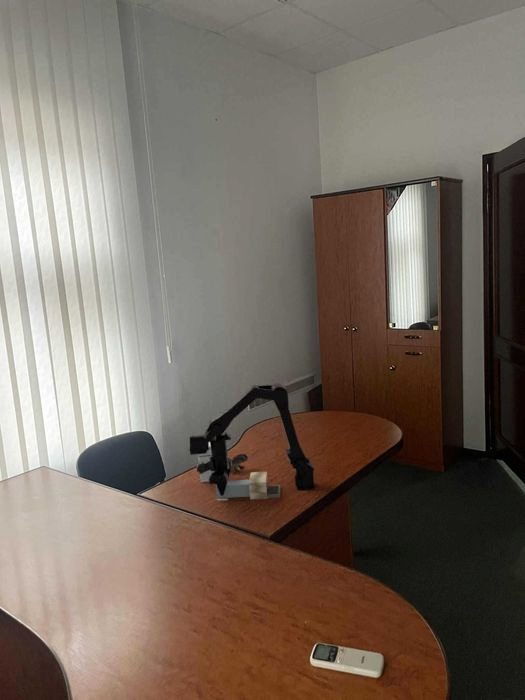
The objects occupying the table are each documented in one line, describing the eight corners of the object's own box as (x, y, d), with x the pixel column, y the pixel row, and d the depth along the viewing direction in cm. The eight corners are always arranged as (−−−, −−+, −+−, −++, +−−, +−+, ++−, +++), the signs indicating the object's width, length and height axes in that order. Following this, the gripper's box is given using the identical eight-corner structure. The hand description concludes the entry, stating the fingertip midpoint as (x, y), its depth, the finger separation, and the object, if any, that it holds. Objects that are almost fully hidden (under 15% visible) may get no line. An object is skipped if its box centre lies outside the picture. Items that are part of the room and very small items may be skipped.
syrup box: (215, 481, 214) (211, 446, 212) (200, 482, 215) (196, 447, 212) (216, 475, 220) (213, 441, 218) (202, 476, 220) (198, 442, 218)
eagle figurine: (241, 473, 218) (252, 461, 226) (230, 458, 218) (241, 447, 226) (229, 479, 223) (241, 468, 230) (219, 465, 223) (230, 454, 230)
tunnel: (268, 487, 205) (266, 471, 204) (267, 498, 195) (265, 482, 194) (252, 488, 205) (250, 472, 204) (250, 499, 196) (248, 483, 195)
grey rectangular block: (256, 491, 203) (255, 478, 202) (255, 496, 198) (254, 483, 198) (218, 493, 204) (217, 480, 203) (216, 498, 199) (215, 485, 198)
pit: (280, 487, 204) (280, 484, 204) (280, 497, 196) (279, 494, 196) (268, 488, 205) (267, 485, 204) (267, 497, 196) (266, 495, 196)
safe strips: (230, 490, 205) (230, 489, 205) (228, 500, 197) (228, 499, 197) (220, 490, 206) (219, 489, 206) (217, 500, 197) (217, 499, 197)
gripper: (201, 444, 208) (204, 483, 211) (192, 462, 190) (196, 505, 192) (230, 442, 208) (233, 481, 210) (224, 460, 189) (228, 503, 192)
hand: (222, 492), depth 201 cm, fingers closed on grey rectangular block, 4 cm apart
